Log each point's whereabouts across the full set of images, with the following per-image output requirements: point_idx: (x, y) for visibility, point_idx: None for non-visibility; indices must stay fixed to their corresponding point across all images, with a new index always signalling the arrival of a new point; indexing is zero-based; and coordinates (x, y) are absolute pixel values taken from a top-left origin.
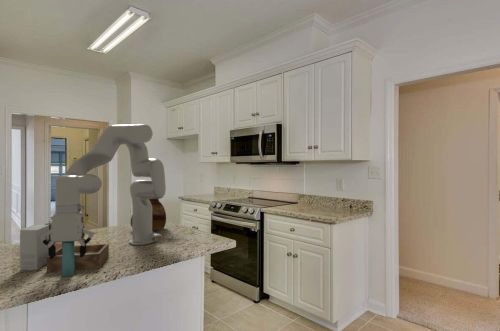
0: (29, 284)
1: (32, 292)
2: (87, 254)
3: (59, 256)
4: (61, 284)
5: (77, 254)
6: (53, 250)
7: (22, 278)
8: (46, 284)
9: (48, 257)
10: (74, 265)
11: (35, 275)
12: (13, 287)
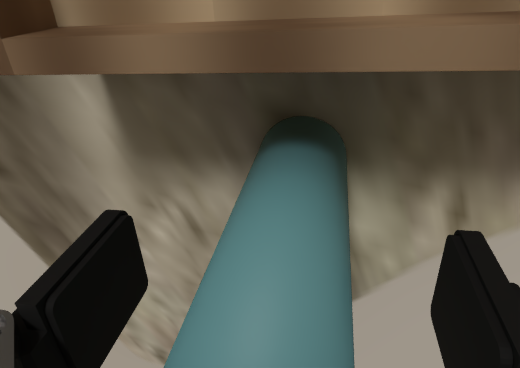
0: None
1: None
2: (491, 67)
3: (117, 72)
4: None
5: (331, 39)
6: (98, 319)
7: (22, 152)
8: None
9: (8, 73)
10: (346, 184)
11: (63, 113)
12: None
